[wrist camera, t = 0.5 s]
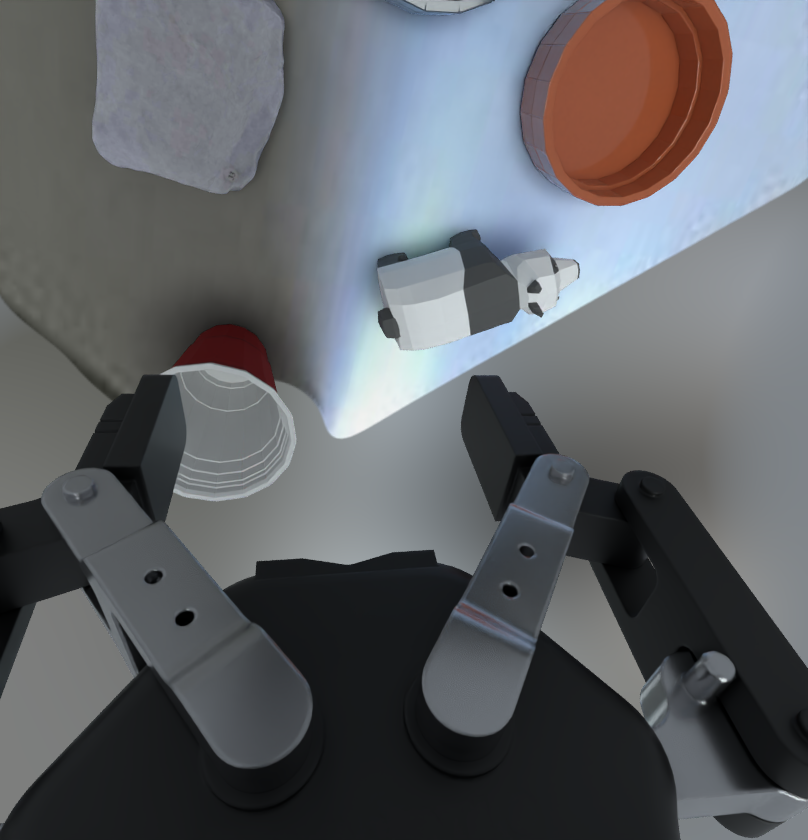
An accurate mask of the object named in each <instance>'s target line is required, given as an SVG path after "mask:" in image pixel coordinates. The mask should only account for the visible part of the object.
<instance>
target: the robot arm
mask: <svg viewBox="0 0 808 840" xmlns="http://www.w3.org/2000/svg"><path fill="white" fill-rule="evenodd" d="M461 432H462V438H463V441H464V443H465V446H466V448H467V451H468V453H469V456H470V458H471V461H472V464H473V466H474V469H475V471H476V474H477V476H478V479H479V481H480V484H481V486H482V489H483V491H484V494H485V496H486V499H487V501H488V504H489V506H490V509H491V511H492V514H493V516H494V519H495V521H501V522H500V524H499V526H498V528H497V530H496V532H495V534H494V536H493V537H492V539H491V542H490V543H489V545H488V547H487V549H486V551H485V553H484V555H483V557H482V559H481V561H480V563H479V565H478V567H477V569H476V571H475V573H474V575H473V576H472V575H470V574H468V573H466V572H464V571H462V570H460V569H457V568H455V567H452V566H448V565H444V564H440V563H437V561H436V557H435V553H434V550H423V551H409V552H408V551H407V552H392V553H389V554H386V555H382V556H379V557H375V558H372V559H369V560H366V561H362V562H359V563H355V564H351V565H343V564H336V563H330V562H323V561H316V560H309V559H288V560H272V561H257V563H256V575H255V576H253V577H249V578H247V579H244V580H242V581H239V582H237V583H235V584H233V585H231V586H229V587H227V588H226V589H224V590H222V589H221V588H220V587H219V585H218V584H217V583H216V582H215V581H214V580H213V578H212V577H211V576H210V575H209V574H208V573H207V571H206V570H205V569H204V568H203V567H202V565H201V564H200V563H199V562H198V561H197V559H196V558H195V557H194V556H193V555H192V554H191V552H190V551H189V550H188V549H187V548H186V547H185V545H184V544H183V543H182V542H181V541H180V539H178V537H177V536H176V535H175V534H174V532H173V531H172V530H171V529H170V528H169V527H168V525H166V523H165V520H166V516H167V513H168V509H169V505H170V501H171V498H172V494H173V490H174V486H175V483H176V479H177V475H178V471H179V468H180V464H181V460H182V456H183V453H184V449H185V445H186V436H187V430H186V420H185V415H184V410H183V405H182V399H181V394H180V389H179V384H178V380H177V377H176V375H143V376H142V378H141V380H140V383H139V385H138V387H137V390H136V392H135V394H121V395H120V396H119V397H117V398H116V399H115V400H114V401H112V402H111V403H110V404H109V405H107V407H106V409H105V411H104V413H103V415H102V417H101V419H100V422H99V423H98V425H97V427H96V429H95V433H93V435H92V437H91V439H90V441H89V443H88V445H87V447H86V449H85V451H84V453H83V455H82V457H81V459H80V462H79V463H78V465H77V467H76V469H75V470H74V471H71V472H69V473H66V474H64V475H62V476H60V477H58V478H57V479H55V480H54V481H52V482H51V483H50V484H49V485H48V486H47V487H46V488H45V490H44V491H43V494H42V497H41V498H39V499H36V500H33V501H29V502H26V503H21V504H18V505H13V506H9V507H5V508H1V509H0V698H1V695H2V693H3V690H4V687H5V684H6V682H7V679H8V677H9V674H10V671H11V669H12V666H13V663H14V661H15V658H16V655H17V653H18V650H19V648H20V645H21V642H22V639H23V636H24V634H25V632H26V629H27V626H28V623H29V621H30V618H31V616H32V613H33V610H34V608H35V605H36V602H38V601H41V600H45V599H48V598H51V597H54V596H57V595H60V594H63V593H66V592H70V591H72V590H76V589H79V588H81V590H82V592H83V593H84V595H85V596H86V598H87V600H88V601H89V603H90V604H91V606H92V607H93V609H94V611H95V612H96V614H97V615H98V617H99V619H100V620H101V622H102V623H103V625H104V627H105V628H106V630H107V631H108V633H109V634H110V636H111V638H112V639H113V641H114V642H115V644H116V646H117V648H118V649H119V651H120V653H121V655H122V657H123V659H124V661H125V663H126V664H127V666H128V668H129V670H130V672H131V673H132V675H133V677H134V679H133V680H132V681H131V682H130V683H129V684H128V685H127V686H126V687H125V688H124V689H123V690H122V691H121V692H120V693H119V694H118V696H116V697H115V698H114V699H113V700H112V702H111V703H110V704H109V705H108V706H107V707H106V708H105V709H104V710H103V711H102V712H101V713H100V714H99V715H98V716H97V717H96V718H95V719H94V720H93V721H92V722H91V723H90V724H89V726H88V727H87V728H86V729H85V730H84V731H83V732H82V733H81V734H80V735H79V736H78V737H77V738H76V739H75V740H74V741H73V742H72V743H71V744H70V745H69V746H68V747H67V748H66V749H65V751H64V752H63V753H62V754H61V755H60V756H59V757H58V758H57V759H56V760H55V761H54V762H53V763H52V764H51V765H50V766H49V767H48V768H47V769H46V770H45V771H44V772H43V773H42V775H41V776H40V777H39V778H38V779H37V780H36V781H35V782H34V783H33V784H32V786H30V787H29V789H28V790H27V791H26V792H25V793H24V795H23V796H22V797H21V799H20V800H19V801H18V803H17V804H16V806H15V807H14V808H13V810H12V811H11V813H10V815H9V816H8V818H7V820H6V821H5V823H1V824H0V840H680V833H679V826H678V819H689V818H699V817H709V816H713V817H714V818H715V819H716V820H717V821H718V822H719V823H720V824H722V825H723V826H724V827H725V828H727V829H728V830H730V831H732V832H733V833H735V834H738V835H740V836H744V837H749V838H755V837H759V836H762V835H764V834H765V833H767V832H769V831H770V830H772V829H774V828H775V827H777V826H778V825H780V824H782V823H783V822H785V821H787V820H788V819H790V818H792V817H793V816H795V815H797V814H798V813H800V812H802V811H803V810H805V809H807V808H808V668H807V667H806V665H805V664H804V662H803V661H802V660H801V659H800V657H799V656H798V654H797V653H796V652H795V650H794V649H793V648H792V646H791V645H790V644H789V642H788V641H787V639H786V638H785V637H784V635H783V634H782V632H781V631H780V630H779V628H778V627H777V626H776V624H775V623H774V622H773V620H772V619H771V617H770V616H769V615H768V613H767V612H766V611H765V609H764V608H763V607H762V605H761V604H760V603H759V601H758V600H757V598H756V597H755V596H754V594H753V593H752V592H751V590H750V589H749V587H748V586H747V585H746V583H745V582H744V581H743V579H742V578H741V577H740V575H739V574H738V573H737V571H736V570H735V568H734V567H733V566H732V564H731V563H730V562H729V560H728V559H727V557H726V556H725V555H724V553H723V552H722V551H721V549H720V548H719V547H718V545H717V544H716V543H715V541H714V540H713V538H712V537H711V536H710V534H709V533H708V532H707V530H706V529H705V528H704V526H703V525H702V523H701V522H700V521H699V519H698V518H697V517H696V515H695V514H694V512H693V511H692V510H691V509H690V507H689V506H688V504H687V503H686V502H685V500H684V499H683V498H682V496H681V495H680V493H679V492H678V491H677V490H676V488H675V487H674V486H673V485H672V484H671V483H670V482H668V481H667V480H666V479H664V478H662V477H660V476H658V475H656V474H654V473H651V472H647V471H640V470H638V471H630V472H628V473H626V474H625V475H624V476H623V478H622V480H621V482H620V484H618V483H612V482H608V481H603V480H598V479H594V478H590V477H589V475H588V472H587V471H586V469H585V468H584V467H583V466H582V465H581V464H580V463H578V462H577V461H576V460H574V459H572V458H570V457H567V456H564V455H560V454H559V452H558V451H557V449H556V447H555V446H554V444H553V442H552V441H551V439H550V438H549V436H548V434H547V433H546V431H545V429H544V428H543V426H542V425H541V423H540V421H539V419H538V418H537V416H535V413H534V411H533V410H532V408H531V406H530V405H529V403H528V402H527V401H526V400H524V399H523V398H522V397H520V395H518V394H517V393H516V392H508V391H507V389H506V387H505V385H504V384H503V382H502V380H501V379H500V377H499V376H497V375H489V376H487V375H480V376H479V375H474V376H472V377H471V379H470V382H469V386H468V391H467V395H466V400H465V405H464V410H463V415H462V420H461ZM565 556H571V557H575V558H580V559H585V560H589V562H590V564H591V567H592V569H593V571H594V573H595V575H596V577H597V579H598V582H599V583H600V586H601V588H602V590H603V592H604V594H605V596H606V599H607V601H608V603H609V605H610V607H611V609H612V611H613V613H614V616H615V617H616V620H617V622H618V624H619V626H620V628H621V631H622V632H623V635H624V637H625V639H626V641H627V643H628V645H629V648H630V649H631V652H632V654H633V656H634V658H635V660H636V662H637V664H638V667H639V669H640V671H641V673H642V675H643V677H644V679H645V682H646V684H645V685H644V686H643V688H642V690H641V693H640V704H641V708H642V711H643V715H644V717H643V716H642V715H641V714H640V713H639V712H638V711H637V710H636V709H635V708H634V707H633V706H632V705H631V704H630V703H629V702H627V701H626V700H625V699H624V698H623V697H622V696H620V695H619V694H618V693H616V692H615V691H614V690H613V689H612V688H611V687H609V686H608V685H607V684H606V683H604V682H603V681H602V680H601V679H600V678H598V677H597V676H596V675H595V674H593V673H592V672H591V671H590V670H589V669H587V668H586V667H585V666H584V665H583V664H581V663H580V662H579V661H578V660H576V659H575V658H574V657H573V656H571V655H570V654H569V653H568V652H567V651H565V650H564V649H563V648H562V647H560V646H559V645H558V644H557V643H556V642H554V641H553V640H552V639H551V638H550V637H548V636H547V635H546V634H545V633H543V632H542V631H541V627H542V624H543V621H544V618H545V614H546V612H547V609H548V606H549V603H550V600H551V597H552V594H553V591H554V588H555V585H556V583H557V580H558V577H559V574H560V571H561V568H562V565H563V562H564V559H565ZM648 557H649V559H650V561H651V562H652V564H653V566H654V567H653V566H652V564H651V562H650V561H649V559H648ZM654 568H655V569H654Z"/></svg>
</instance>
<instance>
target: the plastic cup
mask: <svg viewBox="0 0 808 840" xmlns="http://www.w3.org/2000/svg"><path fill="white" fill-rule="evenodd" d="M160 375H176V377H177V380H178V384H179V389H180V394H181V399H182V405H183V410H184V415H185V420H186V430H187V436H186V445H185V449H184V453H183V456H182V460H181V464H180V468H179V471H178V475H177V479H176V483H175V486H174V490H173V492H175V493H177V494H179V495H181V496H183V497H189V498H196V499H202V500H209V501H221V500H229V499H236V498H243V497H247V496H249V495H251V494H253V493H255V492H257V491H259V490H261V489H263V488H265V487H268V486H270V485H271V484H272V483H273V482H274V481H275V480H276V479H277V478H278V477H279V476H280V475H281V474H282V473H283V471H284V470H285V469H286V468H287V467H288V466H289V464H290V461H291V458H292V455H293V452H294V448H295V445H296V442H297V439H296V433H295V428H294V422H293V416H292V414H291V412H290V411H289V409H288V408H287V406H286V405H285V404H284V402H283V401H282V399H281V398H280V397H279V395H278V394H277V390H276V386H275V382H274V378H273V374H272V370H271V366H270V363H269V362H268V358H267V353H266V349H265V348H264V346H263V344H262V343H261V342H260V340H259V339H258V337H257V336H256V335H255V334H253V333H252V332H250V331H249V330H247V329H246V328H243V327H240V326H236V325H232V324H227V325H216V326H214V327H212V328H210V329H208V330H206V331H204V332H203V333H201V334H200V336H199V337H198V338H197V339H196V341H195V342H194V343H193V344H192V345H190V346H189V348H188V349H187V350H186V351H185V352H184V354H183V355H182V356H181V357H180V358H179V360H178V361H177V362H176V363H175V364H174V366H173V367H172V368H171V369H169V370H167V371H165V372H163V373H161V374H160Z"/></svg>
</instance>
